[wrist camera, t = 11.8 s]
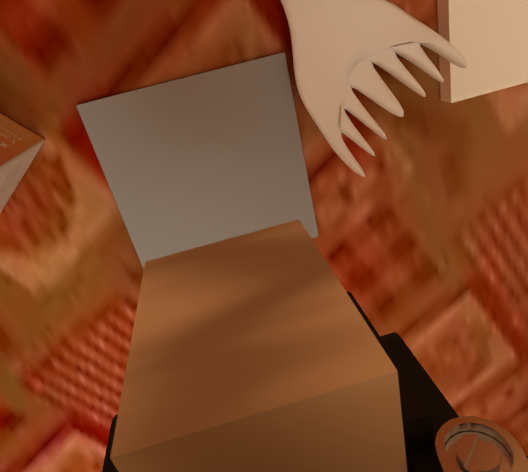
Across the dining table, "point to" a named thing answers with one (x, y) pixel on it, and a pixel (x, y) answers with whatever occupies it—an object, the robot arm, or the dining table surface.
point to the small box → (15, 155)
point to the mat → (203, 156)
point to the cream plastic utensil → (357, 62)
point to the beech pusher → (255, 366)
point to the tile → (483, 46)
